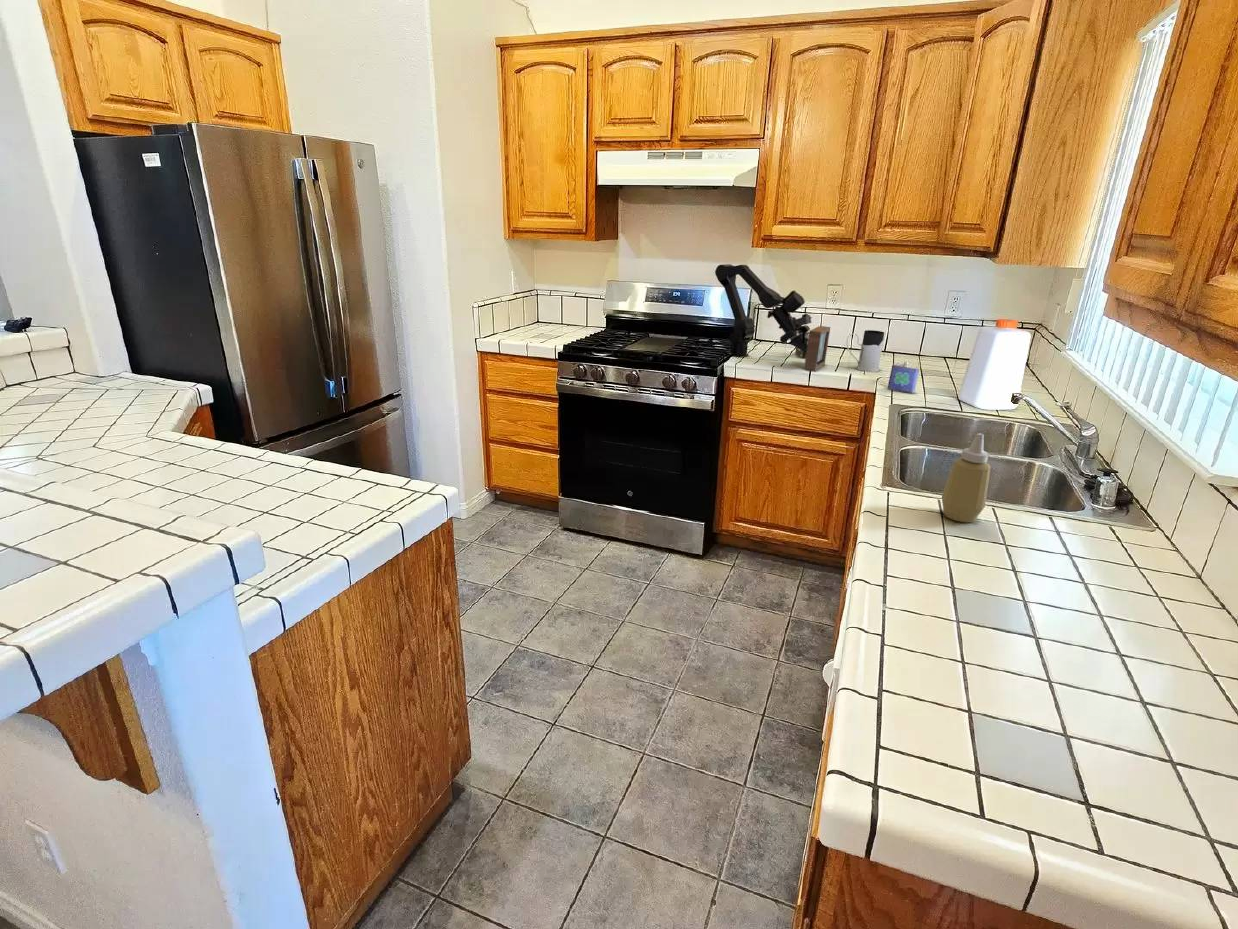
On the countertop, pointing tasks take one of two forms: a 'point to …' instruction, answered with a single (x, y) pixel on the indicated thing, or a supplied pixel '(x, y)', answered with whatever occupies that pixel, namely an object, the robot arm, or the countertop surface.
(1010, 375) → the plastic bottle
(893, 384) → the flask
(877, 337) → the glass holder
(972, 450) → the squeeze bottle
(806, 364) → the window frame
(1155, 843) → the countertop surface
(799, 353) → the food container
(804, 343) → the window sash
